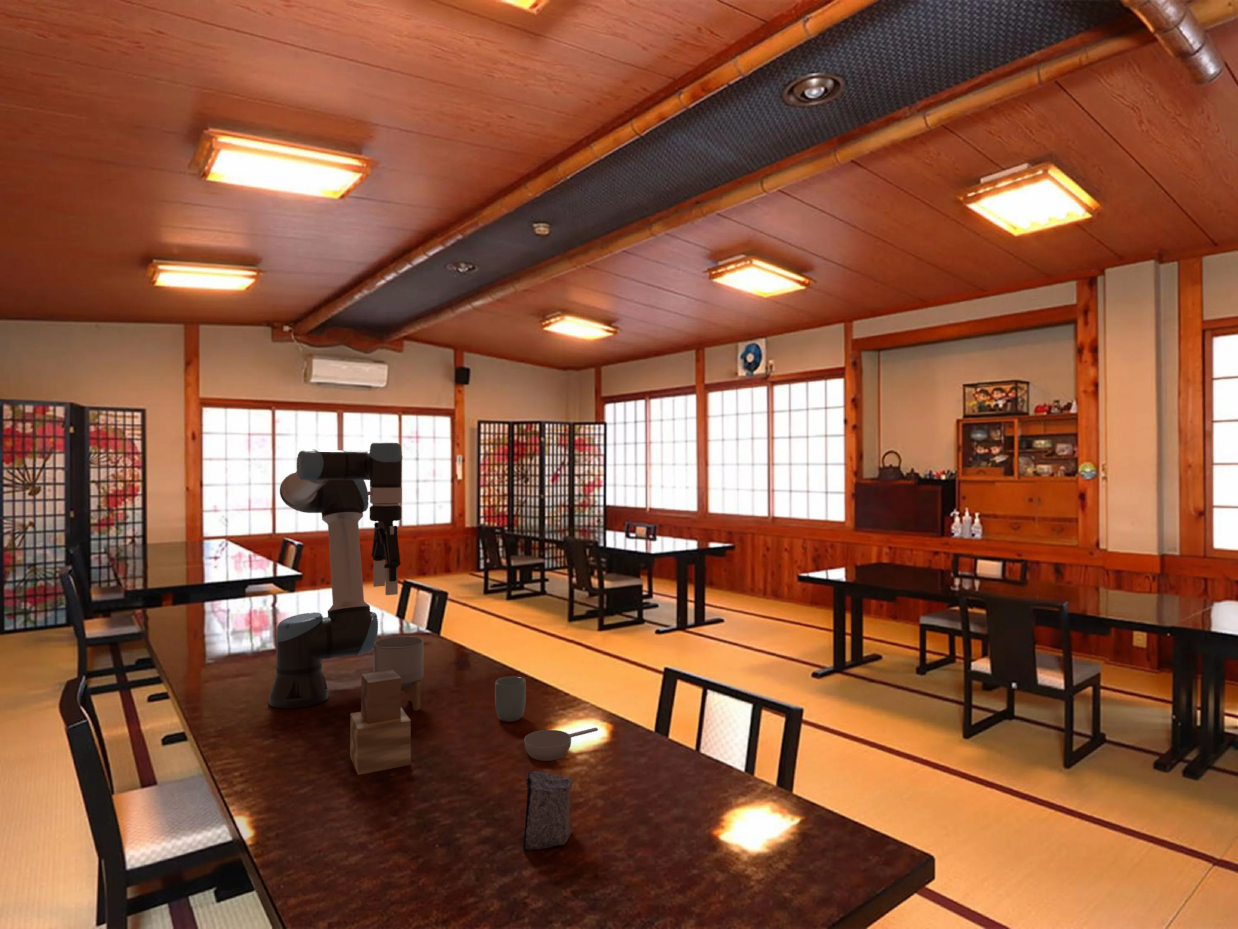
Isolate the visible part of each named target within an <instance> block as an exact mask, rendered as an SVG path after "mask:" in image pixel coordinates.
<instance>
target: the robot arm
mask: <svg viewBox="0 0 1238 929" xmlns="http://www.w3.org/2000/svg"><path fill="white" fill-rule="evenodd" d="M402 454H403V453H402V445H401V444H400V443H398V442H372V443H371V444H370V446H369V450H329V449H328V450H327V449H325V450H324V449H308V450H307V449H306V450H304V449H303V450H300V451H299V452H298V454H297V457H296V470H295V471H296V472H293V473H291V474H290V473H289V475H287V476H286V477H285V478H284V479H283V480H282V481H281V483H280V485H279V486H280V487H279V495H280V498H281V500H282V501H283V502H284V504H285V505H286V506H287V507H289V508H290V509H293V510H295V511H298V512H301V513H305V514H321V520H322V521H323V522H325V523H326V524H327V531H328V532H327V533H328V545H329V547H328V548H329V563H330V579H331V598H332V605H331V606H330V608H329V609H328V610H327V616H326V617H324V616H323V615H322V613H321V612H305V613H300V614H295V615H292V616H288V617H286V618H284V619H282V620H281V621H279V623H278V624H277V627H276V633H275V634H276V636H275V642H276V648H275V649H276V651H275V652H276V657H275V658H276V664H275V667H276V669H275V670H276V672H275V673H276V674H275V677H274V680H273V684H272V687H271V690H270V693H269V695H268V704H269V706H270V707H273V708H277V709H300V708H308V707H311V706H315V705H318V704H321V703H323V702H325V701H326V700H328V699H329V686H328V684H327V681H326V678H325V675H324V672H323V667H322V666H323V665H322V664H323V660H329V659H337V658H344V657H352V656H357V657H358V655H359V656H360V655H363V654H368V653H370V652H371V651H373V650H374V642H375V641H377V640H378V639H377V638H378V631H379V620H378V615H377V613H376V612H374V611H371V606H370V604H369V603H367V602H366V601H365V598H364V594H365V593H364V581H363V571H362V569H363V568H362V567H363V566H362V557H361V556H362V555H361V545H360V544H361V540H360V528H359V526H360V525H359V521H360V520H361V519H362V518H363V517H364V512H366V511H368V508H369V520H370V521H371V522H374V525H373V526H374V528H373V530H374V531H373V539H372V548H371V557H372V560H373V575H372V576H373V587H374V588H375V587H385V588H384V590H385V592H384V593H385V596H393V595H394V596H395V595H398V594H399V590H398V589H399V586H398V584H399V583H398V582H399V567H400V566H401V563H402V562H401V558H400V556H401V555H400V548H399V539H398V526H397V525H394V522H397V521H398V522H399V521H400V520H402V506H401V505H400V504H401V503H402V500H403V499H402V498H403V496H402V495H403V493H402V492H403V488H402V474H403V473H402V471H403V470H402V466H403V465H402V464H403V461H402V460H403V455H402ZM366 481H369V491H368V487H367V484H366ZM369 503H370V504H372V505H370V507H369Z"/></svg>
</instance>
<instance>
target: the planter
mask: <svg viewBox="0 0 1238 929" xmlns="http://www.w3.org/2000/svg"><path fill="white" fill-rule="evenodd" d="M388 670H394V671H395V672H396V673H397V674H398V675H399V676H400V677H401V692H403V693H404V694H406V695H407V697H406V698H407V701H408V702H411V704H412V711H419V710H421V680H422V679H423V677H424V639H423V638H422V637H419V636H414V635H399V636H396V635H395V636H390V637H389V636H388V637H384V638H383V637H382V638H381V639H376V641H375V642H374V648H373V673H374V672H381V671H388Z"/></svg>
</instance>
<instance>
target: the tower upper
mask: <svg viewBox="0 0 1238 929" xmlns="http://www.w3.org/2000/svg"><path fill="white" fill-rule="evenodd" d="M349 717H350V719H349V720H350V724H349V725H350V726H349V727H350V728H349V729H350V735H349V737H350V736H351V738H352V740H353V743H354V745H355V747H356V749H357V752H358V753H359V752H365V751H370V750H376V749H382V748H388V747H393V746H399V745H405V744H410V743H411V744H412V742H411V741H412V740H411V732H412V731H411V730H412V729H411V728H412V727H411V722H412V721H411V718H409V716H408V715H407V714H406V712H405V710H404V708H402V707H401V718H400V719H394V720H388V721H383V722H377V723H371V724H368V723H367V722H366V720H365V719H364V718H363V716H362V715H361V711H356V712H351V713H350V716H349Z"/></svg>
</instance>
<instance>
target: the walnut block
mask: <svg viewBox="0 0 1238 929" xmlns="http://www.w3.org/2000/svg"><path fill="white" fill-rule="evenodd" d="M360 677H361V679H360V680H361V682H360V684H361V685H360V687H361V690H360V692H361V693H360V697H361V698H360V707H361V708H360V712H361V715H362V716H363V718H364V719H365V720H366V722H367V723H368V724H371V723H377V722H383V721H388V720H394V719H400V718H401V708H402V691H401V677H400V676H399V675H398V674H397V673H396V672H395V671H394V670H388V671H381V672H374V671H373V672H368V673H361V676H360Z"/></svg>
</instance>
